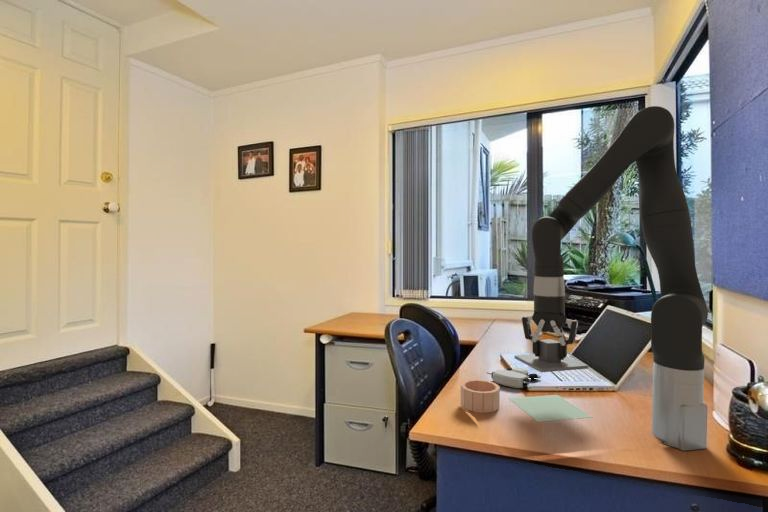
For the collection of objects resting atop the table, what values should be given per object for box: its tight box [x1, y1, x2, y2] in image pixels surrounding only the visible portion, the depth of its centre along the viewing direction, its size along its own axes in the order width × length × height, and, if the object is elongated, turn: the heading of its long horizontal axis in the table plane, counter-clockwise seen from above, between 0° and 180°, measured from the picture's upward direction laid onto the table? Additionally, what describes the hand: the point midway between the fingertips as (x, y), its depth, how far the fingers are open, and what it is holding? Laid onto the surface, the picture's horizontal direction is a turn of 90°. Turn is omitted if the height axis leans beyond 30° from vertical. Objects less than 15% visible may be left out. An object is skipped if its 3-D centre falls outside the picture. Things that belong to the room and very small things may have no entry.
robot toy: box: [486, 367, 542, 389], centre depth 128 cm, size 12×4×15 cm
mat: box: [508, 394, 593, 423], centre depth 108 cm, size 15×15×1 cm
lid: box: [514, 338, 589, 373], centre depth 107 cm, size 13×13×6 cm
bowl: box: [460, 379, 501, 414], centre depth 110 cm, size 10×10×6 cm
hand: (549, 357), depth 107 cm, fingers closed on lid, 5 cm apart
